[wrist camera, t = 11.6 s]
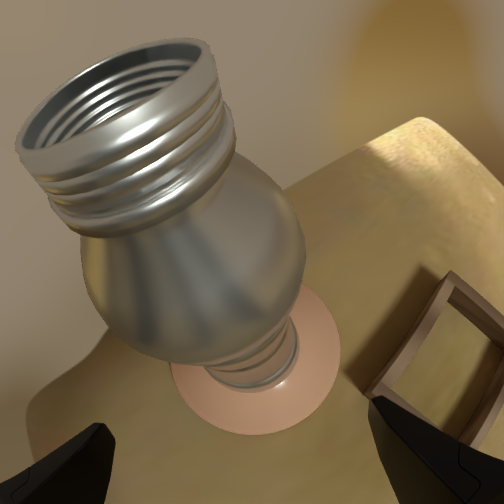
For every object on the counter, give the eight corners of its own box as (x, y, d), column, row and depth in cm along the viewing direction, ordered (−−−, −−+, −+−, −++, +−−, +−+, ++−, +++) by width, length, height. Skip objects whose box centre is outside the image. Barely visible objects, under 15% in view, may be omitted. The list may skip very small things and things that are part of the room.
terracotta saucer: (252, 466, 17) (251, 468, 16) (144, 348, 22) (140, 346, 22) (371, 343, 20) (374, 341, 20) (254, 248, 26) (253, 243, 25)
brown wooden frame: (451, 463, 14) (466, 466, 12) (362, 394, 19) (371, 392, 16) (513, 348, 17) (528, 341, 15) (438, 282, 22) (450, 269, 20)
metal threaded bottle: (282, 406, 18) (194, 404, 1) (196, 376, 20) (-64, 213, 3) (309, 324, 21) (345, 18, 4) (226, 301, 23) (99, 42, 6)
